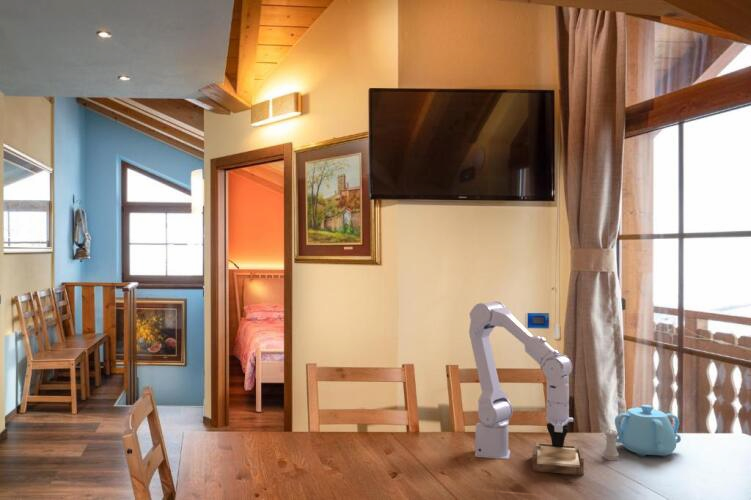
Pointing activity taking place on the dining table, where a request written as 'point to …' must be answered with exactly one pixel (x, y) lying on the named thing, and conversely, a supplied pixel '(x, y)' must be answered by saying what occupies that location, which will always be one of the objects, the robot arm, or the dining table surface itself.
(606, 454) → the rook chess piece
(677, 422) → the decorative pot
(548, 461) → the lid
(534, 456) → the box
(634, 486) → the dining table surface
